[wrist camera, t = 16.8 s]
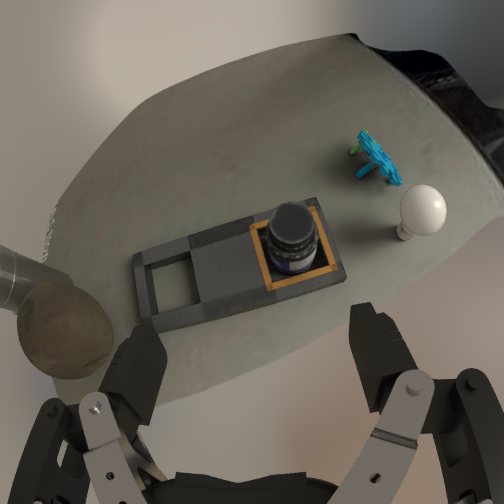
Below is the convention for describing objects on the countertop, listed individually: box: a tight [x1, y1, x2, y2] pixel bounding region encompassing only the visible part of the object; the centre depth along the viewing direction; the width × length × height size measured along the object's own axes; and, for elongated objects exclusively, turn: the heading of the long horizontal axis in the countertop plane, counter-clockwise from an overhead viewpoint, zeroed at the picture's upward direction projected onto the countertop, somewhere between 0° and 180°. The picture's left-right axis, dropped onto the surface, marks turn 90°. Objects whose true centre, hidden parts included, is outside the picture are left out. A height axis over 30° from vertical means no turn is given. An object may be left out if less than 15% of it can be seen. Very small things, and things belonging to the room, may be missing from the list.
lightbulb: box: [397, 185, 446, 240], centre depth 32 cm, size 6×6×11 cm
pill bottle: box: [265, 202, 319, 275], centre depth 33 cm, size 6×6×11 cm
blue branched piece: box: [350, 129, 402, 186], centre depth 39 cm, size 11×6×10 cm
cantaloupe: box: [17, 282, 114, 379], centre depth 32 cm, size 14×14×15 cm
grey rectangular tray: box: [133, 197, 347, 334], centre depth 38 cm, size 28×12×3 cm, turn 105°
